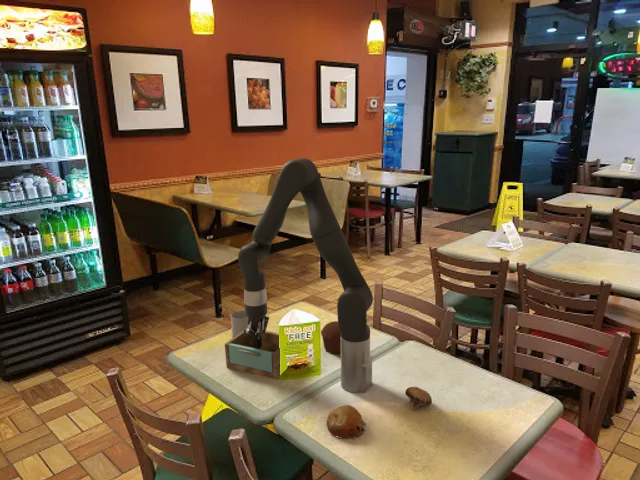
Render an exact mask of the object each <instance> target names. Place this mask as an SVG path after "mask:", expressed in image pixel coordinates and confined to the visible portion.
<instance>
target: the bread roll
mask: <svg viewBox="0 0 640 480" xmlns="http://www.w3.org/2000/svg"><path fill="white" fill-rule="evenodd" d="M366 424H367V423H366V421H365V420H364V419H363V415H362V414H361V412H359V410H357V409H356V407H354V406H352V405H350V404H344V405H340V406H338V407H336V408H334V409H333V410H332V411H331V412H330V413H329V414H328V417H327V419H326V428H327V430H328V432H329V433H330V434H331V435H332V436H333V435H334V437H336V436H338V437H337V438H339V437H341V438H340V439H343V438H351V439H355V438H357V437H358V435H359V436H360V435H361V433H362V432H365V429H364V426H366ZM354 437H355V438H354Z"/></svg>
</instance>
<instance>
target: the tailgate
mask: <svg viewBox="0 0 640 480" xmlns="http://www.w3.org/2000/svg"><path fill="white" fill-rule="evenodd" d="M272 354H273V352H269V351H264V350H260V349H255V348H250V347H246V346H241V345H237V344H232V343H230V344H229V357H230V363H233V364H238V365H242V366H246V367H250V368H255V369H259V370H263V371H267V372H273V358H272Z"/></svg>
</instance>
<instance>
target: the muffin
mask: <svg viewBox="0 0 640 480" xmlns="http://www.w3.org/2000/svg"><path fill="white" fill-rule="evenodd" d="M320 333H321V337H322V343H323V347H324V349H325V353H329V354H330V355H341V335H340V330H339V327H338V320H337V321H336V320H334V321H331V322H328V323H326V324H325V325H324V326H323V328H322V329H321V331H320Z"/></svg>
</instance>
